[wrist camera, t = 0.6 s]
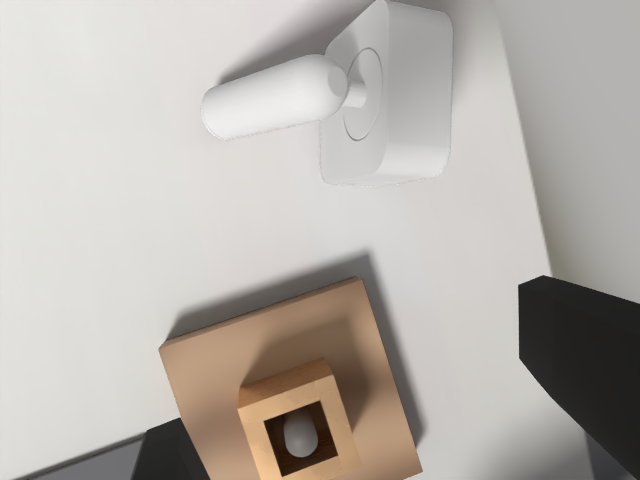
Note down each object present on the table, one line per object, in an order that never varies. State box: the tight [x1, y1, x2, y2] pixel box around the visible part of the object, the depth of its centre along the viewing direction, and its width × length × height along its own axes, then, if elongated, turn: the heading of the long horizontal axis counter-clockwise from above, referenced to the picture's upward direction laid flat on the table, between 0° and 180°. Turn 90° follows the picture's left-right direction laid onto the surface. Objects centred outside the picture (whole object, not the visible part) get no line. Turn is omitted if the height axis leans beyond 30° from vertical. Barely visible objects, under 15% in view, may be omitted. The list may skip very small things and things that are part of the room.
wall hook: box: [201, 0, 453, 187], centre depth 25 cm, size 8×10×10 cm
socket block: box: [158, 277, 423, 480], centre depth 27 cm, size 12×12×6 cm
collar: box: [237, 357, 363, 480], centre depth 26 cm, size 5×5×4 cm
